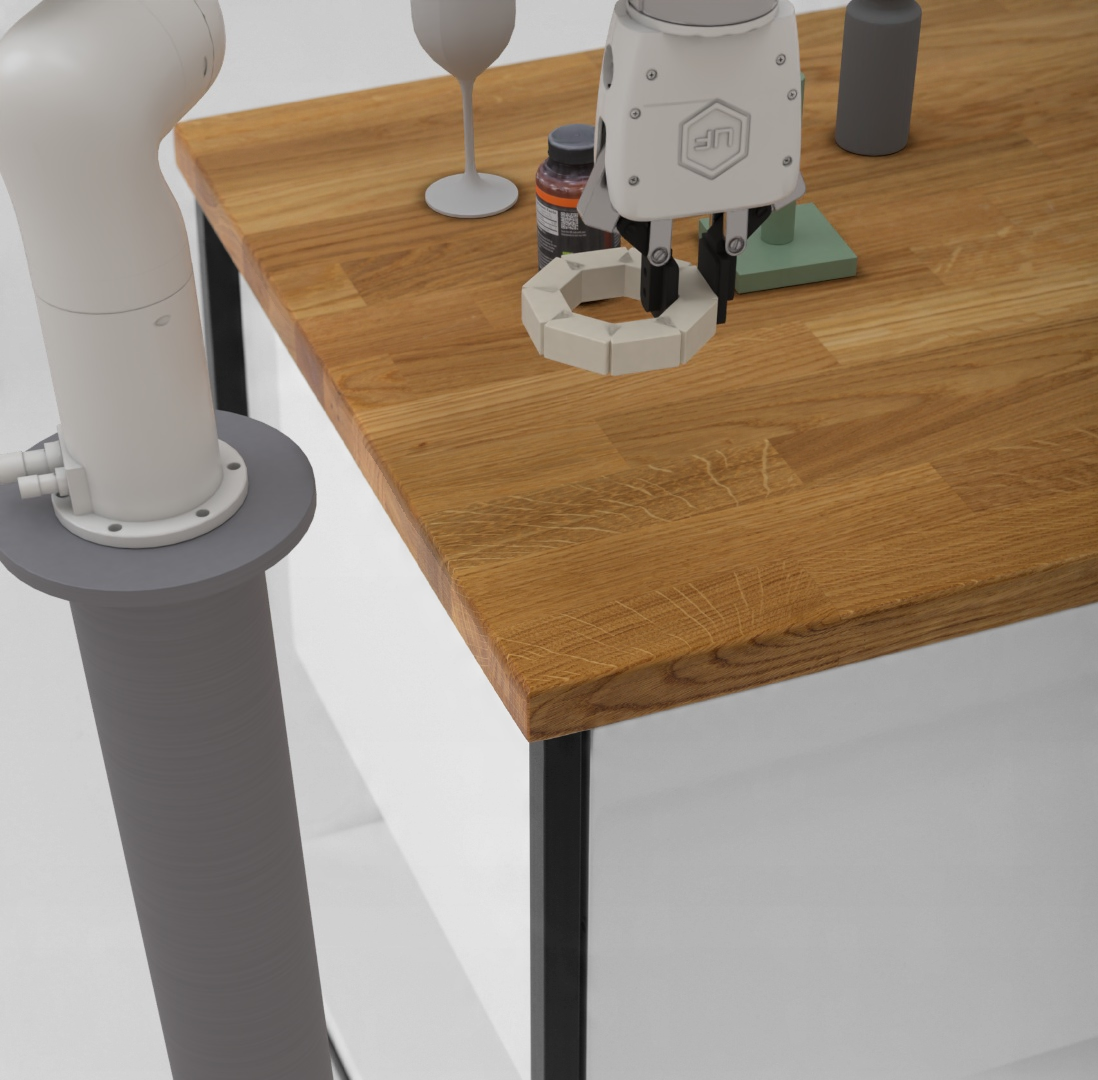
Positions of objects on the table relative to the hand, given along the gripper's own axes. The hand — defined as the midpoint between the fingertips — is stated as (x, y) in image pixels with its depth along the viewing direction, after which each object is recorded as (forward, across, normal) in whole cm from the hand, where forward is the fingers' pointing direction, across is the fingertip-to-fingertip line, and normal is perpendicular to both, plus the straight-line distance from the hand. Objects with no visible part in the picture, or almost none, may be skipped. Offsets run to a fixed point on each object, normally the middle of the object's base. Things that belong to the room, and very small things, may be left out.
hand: (686, 313), depth 113 cm
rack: (+16, +18, +33) cm, 41 cm away
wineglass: (+16, 0, +49) cm, 51 cm away
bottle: (+16, +32, +49) cm, 61 cm away
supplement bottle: (+16, +4, +33) cm, 37 cm away
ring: (0, -4, 0) cm, 4 cm away
